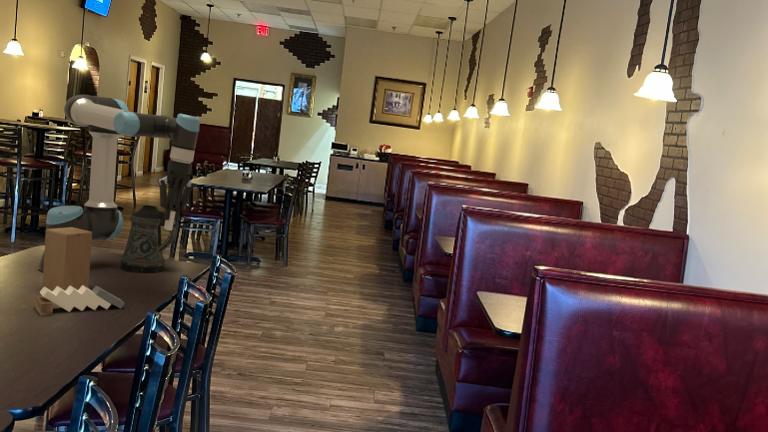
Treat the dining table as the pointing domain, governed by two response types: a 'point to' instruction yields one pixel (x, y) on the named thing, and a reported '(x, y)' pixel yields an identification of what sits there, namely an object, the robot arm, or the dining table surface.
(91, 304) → the domino
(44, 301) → the end block
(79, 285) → the wooden block
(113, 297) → the domino
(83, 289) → the domino
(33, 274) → the dining table surface
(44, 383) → the dining table surface
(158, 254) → the beer stein
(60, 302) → the domino
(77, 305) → the domino
